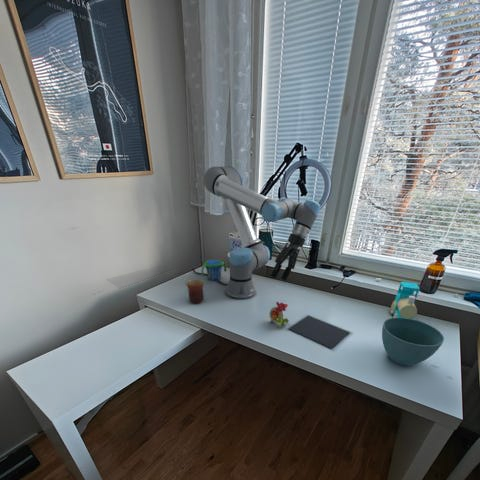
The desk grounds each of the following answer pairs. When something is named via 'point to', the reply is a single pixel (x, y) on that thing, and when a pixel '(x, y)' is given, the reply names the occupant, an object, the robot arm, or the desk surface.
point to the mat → (319, 331)
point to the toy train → (405, 301)
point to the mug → (195, 290)
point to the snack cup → (214, 269)
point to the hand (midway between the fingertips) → (278, 278)
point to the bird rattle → (278, 314)
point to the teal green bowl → (410, 340)
